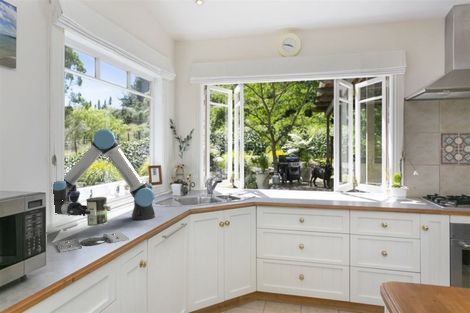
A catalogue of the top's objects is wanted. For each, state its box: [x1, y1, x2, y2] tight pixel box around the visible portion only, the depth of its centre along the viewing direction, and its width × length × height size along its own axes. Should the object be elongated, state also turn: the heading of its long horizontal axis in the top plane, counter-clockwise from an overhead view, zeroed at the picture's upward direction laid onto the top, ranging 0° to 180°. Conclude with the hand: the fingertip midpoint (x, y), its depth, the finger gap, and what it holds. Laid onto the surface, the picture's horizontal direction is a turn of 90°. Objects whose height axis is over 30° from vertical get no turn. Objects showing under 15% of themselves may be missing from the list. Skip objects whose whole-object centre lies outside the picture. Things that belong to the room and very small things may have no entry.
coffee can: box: [86, 196, 108, 227], centre depth 174 cm, size 10×10×14 cm
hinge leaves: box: [55, 231, 130, 253], centre depth 158 cm, size 31×14×1 cm, turn 127°
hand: (103, 210), depth 172 cm, fingers closed on coffee can, 10 cm apart
